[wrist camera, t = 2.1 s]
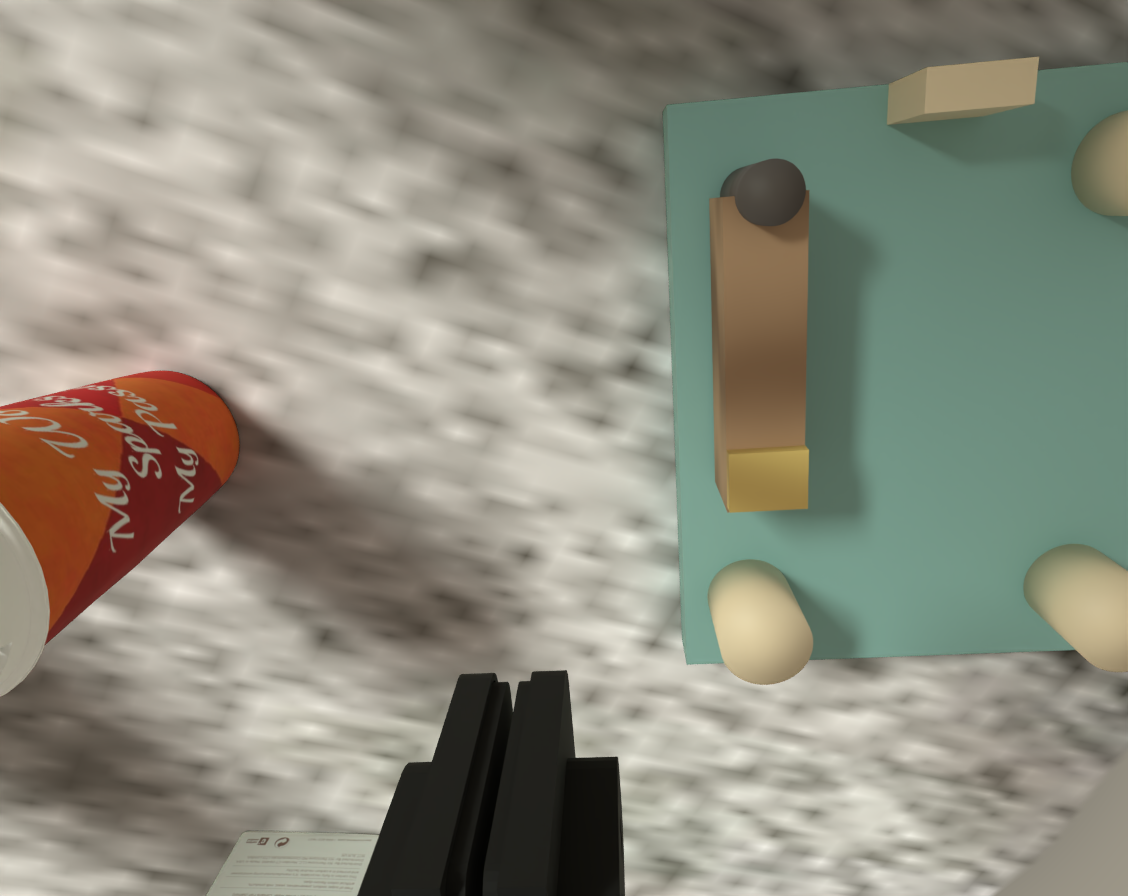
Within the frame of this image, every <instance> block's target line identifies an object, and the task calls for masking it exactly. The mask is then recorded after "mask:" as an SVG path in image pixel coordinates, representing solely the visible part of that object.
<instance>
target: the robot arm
mask: <svg viewBox="0 0 1128 896" xmlns="http://www.w3.org/2000/svg"><path fill="white" fill-rule="evenodd" d="M357 896H625V880H624V846H623V823H622V805H621V790H620V776H619V763H618V757H594V758H575V747H574V736H573V724H572V713H571V702H570V691H569V680H568V673H567V670H564V671H536V672H532V675H531V681H521V682H519V685H518V690H517V695H516V700H515V706H514V711H513V709H512V700H511V692H510V686H509V683H508V682H498V680H497V676H496V674H495V673H482V674H461V675H460V676H459V678H458V681H457V684H456V688H455V691H454V694H453V697H452V700H451V703H450V706H449V709H448V713H447V716H446V719H445V722H444V725H443V728H442V731H441V735H440V738H439V741H438V744H437V747H436V750H435V753H434V757H433V760H432V762H414V763H408V764H407V765H406V766H405V768H404V770H403V772H402V774H401V777H400V780H399V782H398V785H397V788H396V791H395V793H394V796H393V799H392V802H391V804H390V807H389V810H388V812H387V815H386V818H385V821H384V823H383V826H382V829H381V832H380V834H379V837H378V840H377V843H376V845H375V848H374V851H373V854H372V856H371V859H370V862H369V864H368V867H367V870H366V873H365V875H364V878H363V881H362V884H361V886H360V889H359V892H358V895H357Z"/></svg>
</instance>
